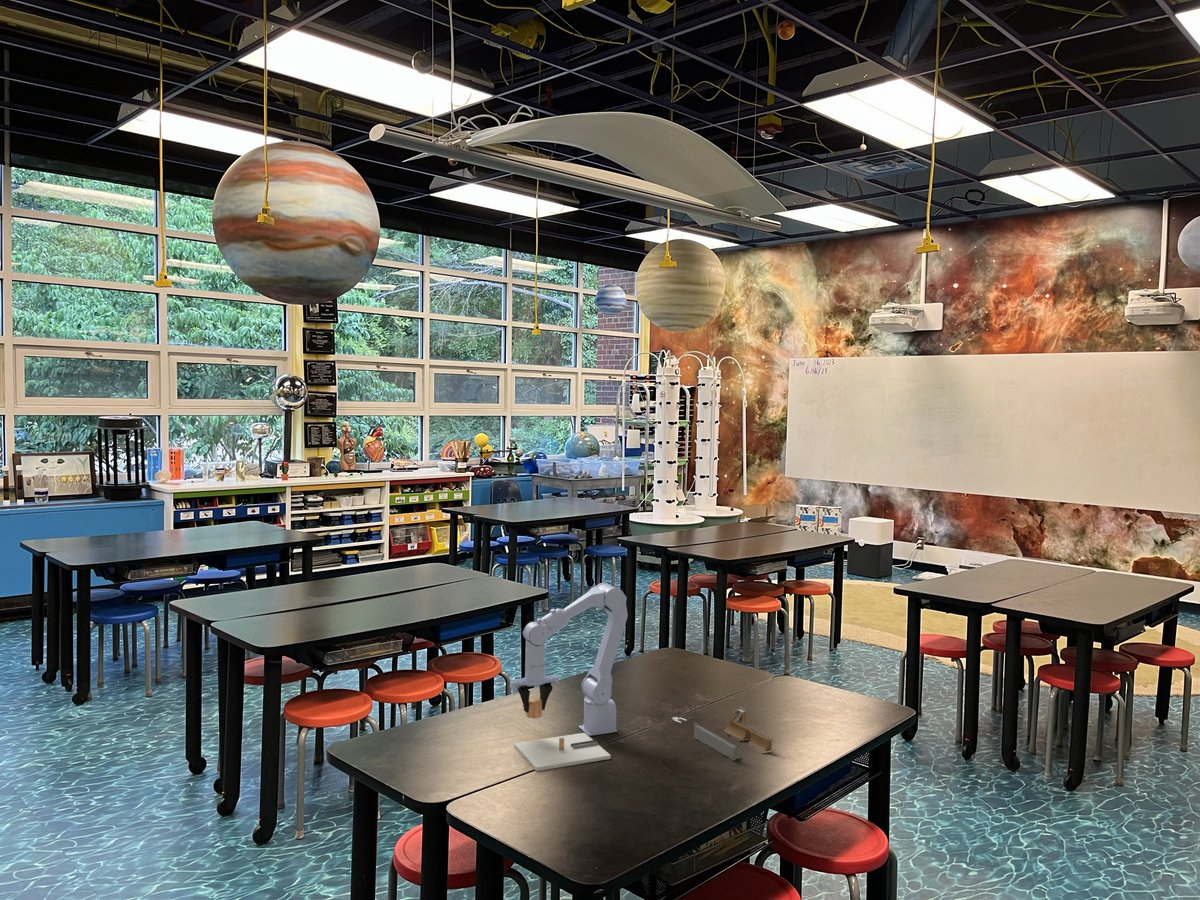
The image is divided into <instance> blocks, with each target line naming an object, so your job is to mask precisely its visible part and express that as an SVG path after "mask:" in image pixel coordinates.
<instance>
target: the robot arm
mask: <svg viewBox="0 0 1200 900" xmlns="http://www.w3.org/2000/svg"><path fill="white" fill-rule="evenodd" d="M627 599H628V597H627V596H626V595H625V593H624V592H623V590H622V589H621V588H619V587H615V586H613V585H610V584H609V583H607V582H601V583H598V584H597V585H596V586H593V587H591V588H590V589H589V590H588V591H587V592H586V593H585V594H583V595H581V596H580V597H578V598H577V599H576V600H575V601H572V603H570V604H569V605H567V606H566V607H564V608H556V609H555V608H551V609H550V610H549V613H548V614H546V615H544V616H543V617H541V618H540V617H538V618H536V621H530V622H529V623H527V624H526V625H525V627H524V629H523V631H522V635H523V638H524V639H525V650H524V651H525V660H524V661H525V662H524V667H525V668H524V670H525V671H524V677H522V678H518V679H515V680H510V681H509V682H510V683H509V688H510V689H511V690H516V689H517V691H518V693H519V695H520V698H521V699H520V700H521V701H522V706H523V707H522V708H523V711H524V712H525V713H526V712H529V699H530V695H531V691H530V689H529V688H528V687H536V686H538V687H539V688H538V689H539V699H541V700H542V711H545V709H546V704H547V701H548V698H549V696H550V695H551V692H552V691H553V684H555V685H558V684H560V677H559V676H558V675H556V674H555V675H546V671H545V669H546V643H547V642H548V640H549V637H550V636H552V635H554V634H555V633H557V632H559V631H560V630H562V629H563V628H565V627H566V626H568V624H569V622H570V619H572V618H574V617H576V616H577V615H580V614H581V613H583V612H585V611H587V610H588V609H590V608H592V607H595V608H596V607H597V608H603V609H604V611H605V612H606V614H607V616H608V619H607V623H606V626H605V629H604V632H603V636H602V639H601V641H600V645H599V648H598V652H597V654H596V659H595V660H594V664H593V667H591V668H590V669H589V670H588V672H587V674H586V676H585V677H584V678H583V680H582V682H581V685H580V689H581V691H582V693H583V694H584V698H583V699H584V700H583V701H584V702H583V704H584V705H583V724H582V725H581V724H579V725H578V728H579V729H580V730H581V731H582V732H583V733H585V734H587V735H588V736H589V737H591V736H598V735H605V734H610V733H617V732H618V730H617V705H616V703H615V701H614V699H612V698H611V697H612V693H613V692H612V691H613V690H612V685H613V678H612V674H611V673H612V672H611V671H612V668H613V666H614V662H615V659H616V656H617V652H618V650H619V646H620V642H621V639H622V636H623V633H624V630H625V626H626V623H627V620H628V616H629V615H628V614H629V613H628V607H627Z"/></svg>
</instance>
